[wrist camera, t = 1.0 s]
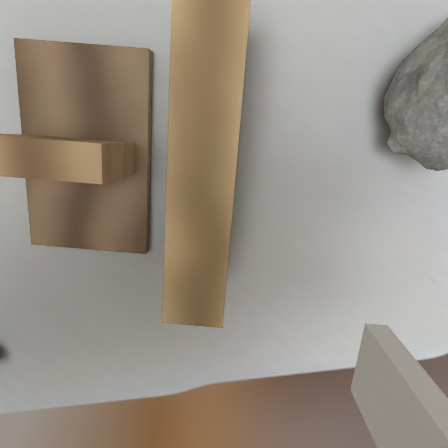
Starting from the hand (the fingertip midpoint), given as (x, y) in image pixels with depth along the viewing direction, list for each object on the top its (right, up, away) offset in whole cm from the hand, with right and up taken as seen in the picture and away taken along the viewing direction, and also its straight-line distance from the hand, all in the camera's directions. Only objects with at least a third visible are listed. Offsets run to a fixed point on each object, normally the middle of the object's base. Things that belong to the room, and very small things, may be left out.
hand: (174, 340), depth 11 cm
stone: (+16, +14, +13) cm, 25 cm away
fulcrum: (-9, +10, +15) cm, 20 cm away
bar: (+1, +8, +11) cm, 14 cm away
